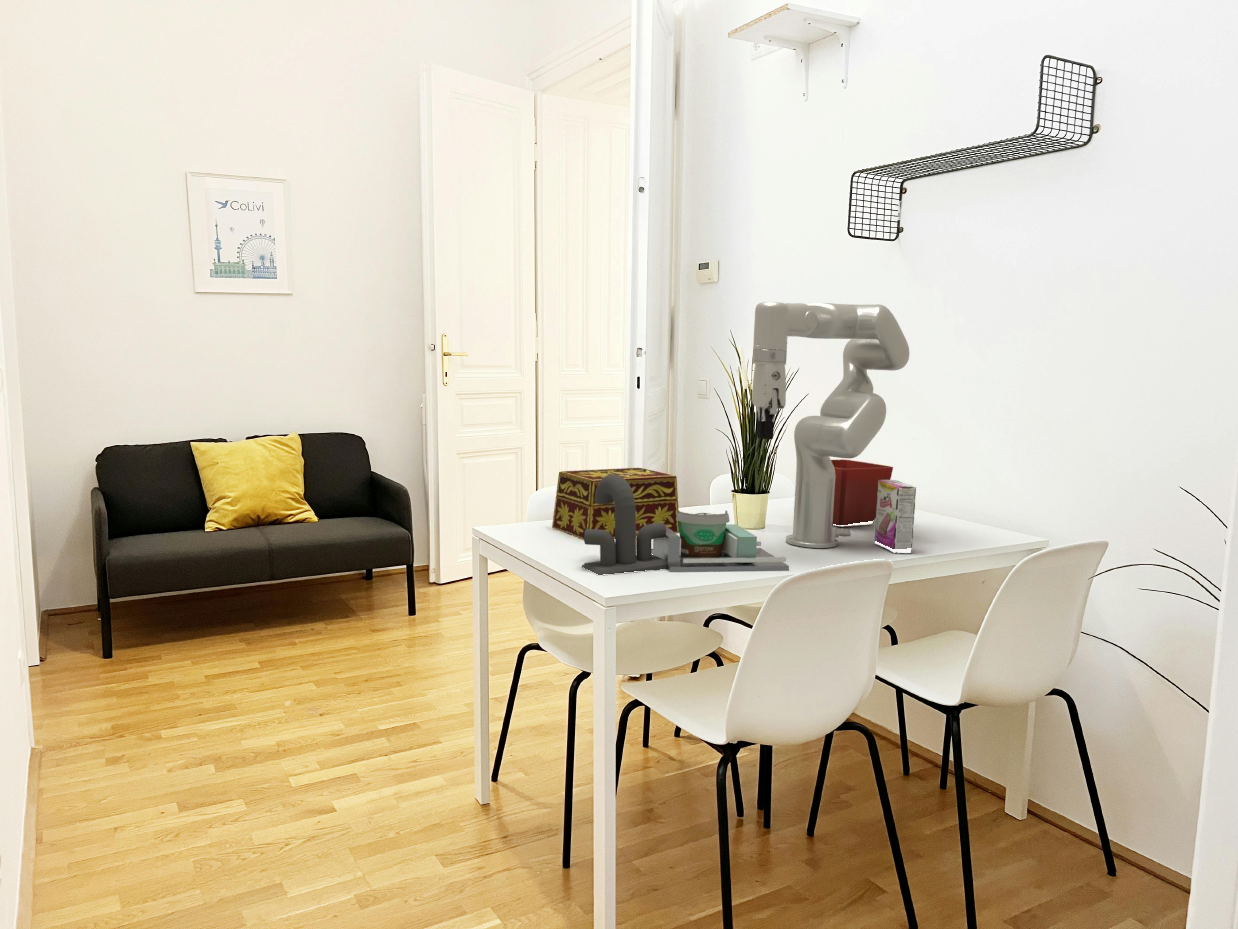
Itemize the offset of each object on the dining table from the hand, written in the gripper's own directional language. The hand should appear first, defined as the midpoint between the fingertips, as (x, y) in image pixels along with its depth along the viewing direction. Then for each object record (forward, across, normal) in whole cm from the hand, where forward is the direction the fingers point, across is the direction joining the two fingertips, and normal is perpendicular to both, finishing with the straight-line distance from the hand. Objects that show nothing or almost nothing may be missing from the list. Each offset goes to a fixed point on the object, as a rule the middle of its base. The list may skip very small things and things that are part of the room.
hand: (765, 438), depth 210 cm
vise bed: (+27, -6, +12) cm, 30 cm away
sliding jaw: (+26, -6, +8) cm, 28 cm away
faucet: (+28, -7, +35) cm, 45 cm away
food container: (+26, -6, +15) cm, 31 cm away
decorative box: (+28, +30, +28) cm, 49 cm away
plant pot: (+27, +39, -38) cm, 61 cm away
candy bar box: (+27, +5, -36) cm, 45 cm away
